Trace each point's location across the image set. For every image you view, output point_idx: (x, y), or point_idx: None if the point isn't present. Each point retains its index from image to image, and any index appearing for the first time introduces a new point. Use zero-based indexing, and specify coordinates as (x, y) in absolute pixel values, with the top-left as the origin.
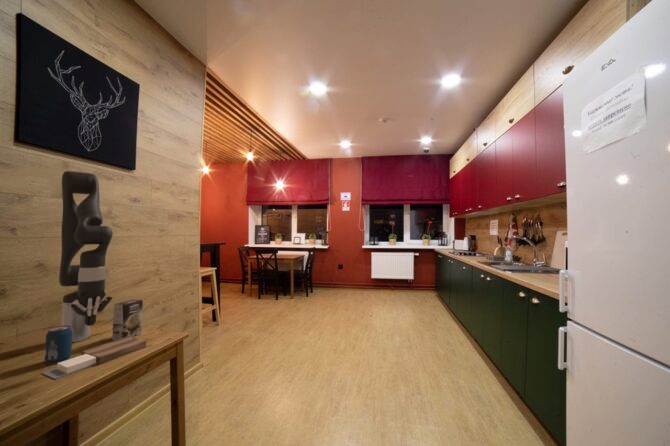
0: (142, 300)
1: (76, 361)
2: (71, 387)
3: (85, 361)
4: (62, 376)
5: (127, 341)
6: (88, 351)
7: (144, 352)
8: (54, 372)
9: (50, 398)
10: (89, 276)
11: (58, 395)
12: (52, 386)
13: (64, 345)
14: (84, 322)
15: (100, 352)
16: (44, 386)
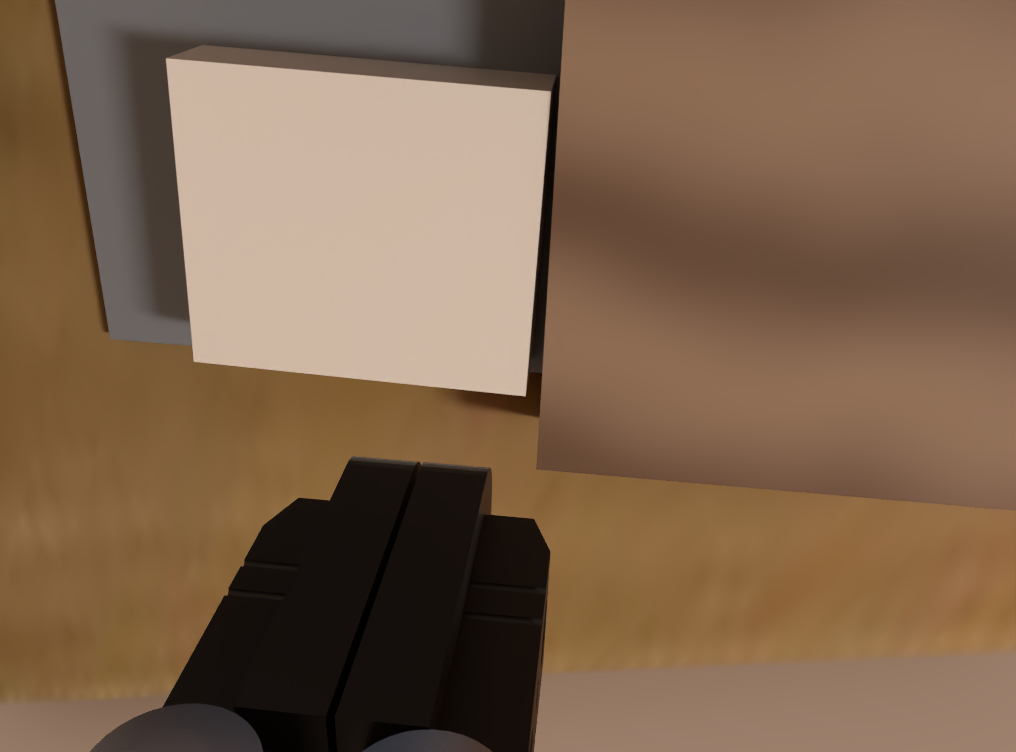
0: None
1: (331, 270)
2: (158, 632)
3: (393, 381)
4: (177, 342)
5: None
6: (610, 38)
7: (989, 596)
8: (149, 140)
9: (7, 652)
10: None
11: (56, 662)
12: (62, 463)
13: None
14: (256, 540)
15: (653, 288)
16: (14, 391)
